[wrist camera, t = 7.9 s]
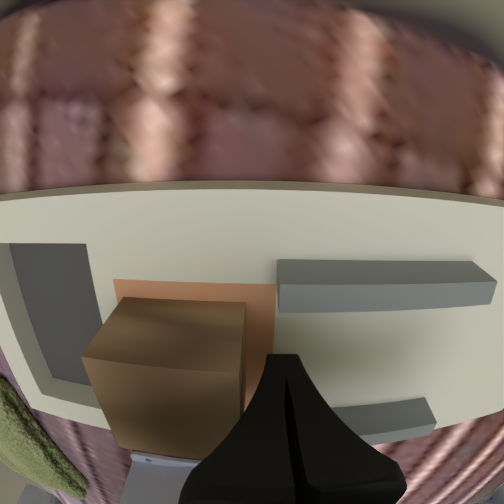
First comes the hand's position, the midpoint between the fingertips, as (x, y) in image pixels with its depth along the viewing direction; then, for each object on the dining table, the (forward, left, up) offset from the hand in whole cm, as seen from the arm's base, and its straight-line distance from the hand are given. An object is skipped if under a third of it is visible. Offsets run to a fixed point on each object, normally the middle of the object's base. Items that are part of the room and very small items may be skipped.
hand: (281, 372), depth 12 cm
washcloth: (-25, -16, -4) cm, 30 cm away
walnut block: (-4, 0, -1) cm, 4 cm away
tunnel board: (0, 0, -3) cm, 3 cm away
